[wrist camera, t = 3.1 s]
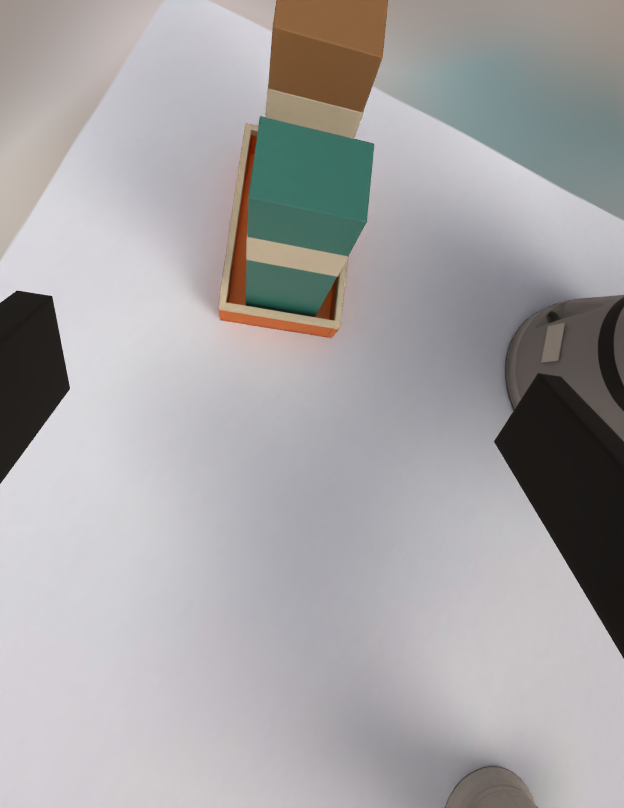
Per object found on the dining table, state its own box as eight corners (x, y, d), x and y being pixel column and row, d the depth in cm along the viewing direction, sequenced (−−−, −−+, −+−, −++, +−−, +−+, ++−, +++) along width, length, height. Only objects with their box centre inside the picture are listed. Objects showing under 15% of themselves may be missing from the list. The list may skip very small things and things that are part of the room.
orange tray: (349, 174, 39) (358, 149, 36) (331, 338, 37) (340, 327, 34) (245, 150, 37) (245, 122, 34) (219, 320, 35) (218, 307, 32)
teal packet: (317, 275, 37) (375, 143, 21) (312, 323, 36) (367, 223, 20) (251, 262, 36) (259, 114, 20) (244, 311, 35) (247, 197, 19)
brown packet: (328, 178, 38) (390, -13, 22) (323, 223, 37) (383, 57, 22) (264, 164, 37) (282, -46, 21) (258, 209, 36) (272, 27, 21)
